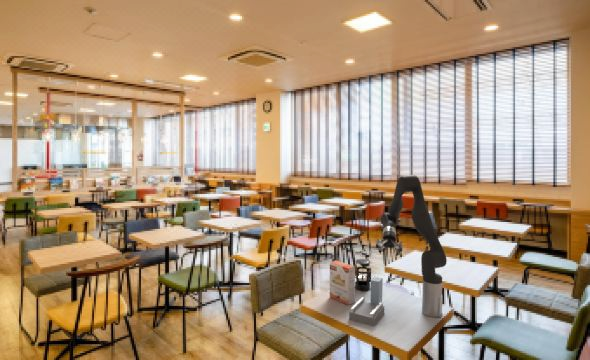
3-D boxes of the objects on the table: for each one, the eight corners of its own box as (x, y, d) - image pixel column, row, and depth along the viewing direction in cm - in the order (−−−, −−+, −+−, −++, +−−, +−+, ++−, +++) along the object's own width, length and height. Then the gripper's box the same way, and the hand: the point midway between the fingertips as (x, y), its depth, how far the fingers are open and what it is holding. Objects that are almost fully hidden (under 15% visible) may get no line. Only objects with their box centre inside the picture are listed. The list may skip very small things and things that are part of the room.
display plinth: (384, 313, 180) (384, 302, 180) (374, 326, 168) (374, 314, 167) (360, 307, 187) (360, 296, 187) (349, 319, 175) (349, 308, 174)
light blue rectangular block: (382, 304, 191) (382, 278, 189) (378, 309, 186) (378, 281, 184) (374, 302, 193) (374, 276, 192) (370, 307, 188) (370, 280, 186)
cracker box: (329, 297, 200) (329, 262, 198) (336, 294, 204) (336, 259, 202) (348, 305, 190) (348, 268, 188) (355, 302, 194) (355, 265, 192)
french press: (361, 292, 206) (362, 255, 204) (350, 287, 214) (350, 251, 212) (375, 288, 213) (376, 251, 210) (364, 283, 220) (364, 247, 218)
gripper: (377, 228, 201) (375, 246, 188) (403, 232, 198) (403, 250, 184) (376, 238, 205) (374, 256, 191) (401, 242, 202) (401, 261, 188)
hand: (388, 253), depth 188 cm, fingers open, 8 cm apart
